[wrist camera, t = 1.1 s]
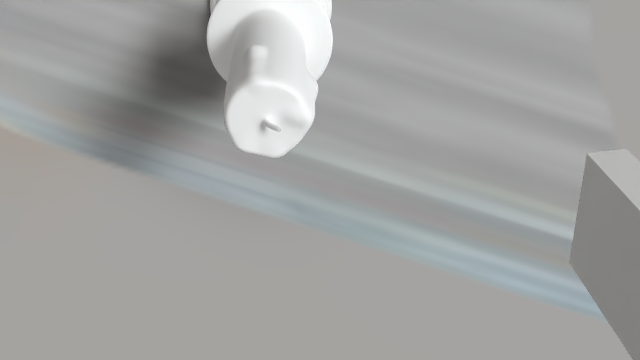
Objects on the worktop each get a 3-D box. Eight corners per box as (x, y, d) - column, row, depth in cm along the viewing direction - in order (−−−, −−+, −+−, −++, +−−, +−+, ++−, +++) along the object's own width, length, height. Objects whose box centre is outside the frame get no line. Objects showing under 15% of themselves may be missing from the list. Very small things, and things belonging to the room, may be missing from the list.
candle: (329, -62, 25) (363, 27, 14) (333, 59, 27) (364, 204, 17) (201, -54, 24) (146, 40, 14) (219, 67, 27) (183, 217, 17)
